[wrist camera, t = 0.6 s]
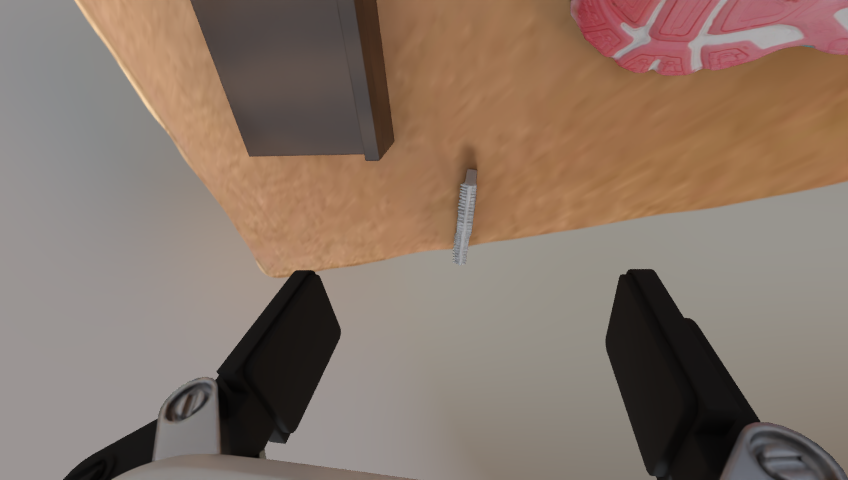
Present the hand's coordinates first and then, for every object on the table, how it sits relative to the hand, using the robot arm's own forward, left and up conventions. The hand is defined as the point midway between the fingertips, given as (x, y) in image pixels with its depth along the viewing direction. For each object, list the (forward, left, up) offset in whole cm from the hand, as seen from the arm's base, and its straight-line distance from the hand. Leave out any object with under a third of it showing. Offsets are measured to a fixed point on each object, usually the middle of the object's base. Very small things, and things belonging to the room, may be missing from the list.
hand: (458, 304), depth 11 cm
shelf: (-8, -18, -29) cm, 35 cm away
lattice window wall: (+13, -2, -29) cm, 32 cm away
